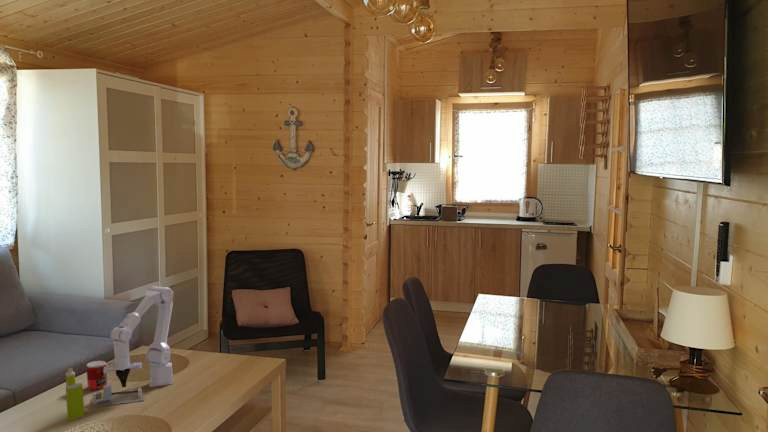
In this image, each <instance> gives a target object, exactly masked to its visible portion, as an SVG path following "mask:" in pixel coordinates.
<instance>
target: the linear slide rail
mask: <svg viewBox="0 0 768 432" xmlns="http://www.w3.org/2000/svg"><path fill="white" fill-rule="evenodd" d="M145 398H146V391H143V390H142V387H138V388H137V389H131V390H122V391H115V392H114V391H113V392H112V399H109V400H104V396H103V391H99V392H95V393H93V394H92V398H91V400H90V403H89V406H88V408H90V409H95V408H94V407H97V408H103V407H102V406H104V407H109V406H108V405H111V406H116V405H115V404H118V405H122V404H121V403H125V404H131V403H130V402H133V403H138V402H139V401H140V402H144V401H145Z"/></svg>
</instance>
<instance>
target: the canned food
mask: <svg viewBox="0 0 768 432" xmlns="http://www.w3.org/2000/svg"><path fill="white" fill-rule="evenodd" d="M104 367H107V362H106V361H104V360H94V361H91V362H88V363H87V364H86V379H87V380H86V381H87V388H88V390H89V391H100V390H103V387H104V386H107V385H108V378H107V377H108V376H107V373H104Z"/></svg>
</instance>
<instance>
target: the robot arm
mask: <svg viewBox="0 0 768 432" xmlns="http://www.w3.org/2000/svg"><path fill="white" fill-rule="evenodd" d="M173 299H174V291H173V290H172V288H170V287H168V286H166V287H164V286H158V285H157V286H156V285H151V286H149V288H148V290H146V291H145V296H144V298H143V299H142V300H141V302H140V303H139V304H138V306H137V308H135V310H134V311H133V312H129V313H128V314H127V315H125V316H126V317H124V319H123V320H122V321H121V323H120V324H119V325H118V326H116V327H114V328H113V329H112V330H111V332H110V334H109V337H110V340H112V344H113V350H114V351H113V352H114V365H109V366H106V367H104V373H106V374H107V373H109V372H115V375H116V376H117V378H118V379H119V380H118V381H120V385H121V388H126V387H127V379H128V376H129V375H130V372H131V370H133V369H142V368H143V365H142V362H140V361H139V362H131V360H130V359H131V358H130V357H131V356H130V355H131V354H130V341H129V340H131V338H132V336H133V335H132V334H133V332H134V330H135V328H136V327H137V326H138V325H139V323H140V322H141V319H142V318H141V317H142V316H143V315H144V314H145V313H146V312H147V310H148V309H149V308H150V307H151V306H152V305H154V304H155V305H157V306H158V308H159V309H158V315H157V321H156V327H155V332H154V337H153V342H152V343H150V344H149V345H148V349H147V351H146V353H145V361H146V362H147V363H148V365H149V369H150V370H149V374H150V380H149V381H150V382H149V388H152V387H153V388H154V387H160V386H166V385H167V386H168V385H173V379H174V374H173V364H172V362H170V361H171V360H170V359H171V347H170V345H168V342H167V341H168V335H169V330H170V323H171V319H172V318H171V317H172V311H173V305H174V303H173Z"/></svg>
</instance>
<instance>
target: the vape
mask: <svg viewBox="0 0 768 432" xmlns="http://www.w3.org/2000/svg"><path fill="white" fill-rule="evenodd" d="M65 382H66V387H65V396H66V411H67V413H66V414H67V419H68V421H74V420H78V419H80V417H81V418H83V417H85V404H84V389H83V387H84V385H83V383H82V382H81V383H80V382H79V383H76V371H73V367H68V368H67V372H66V373H65Z"/></svg>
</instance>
